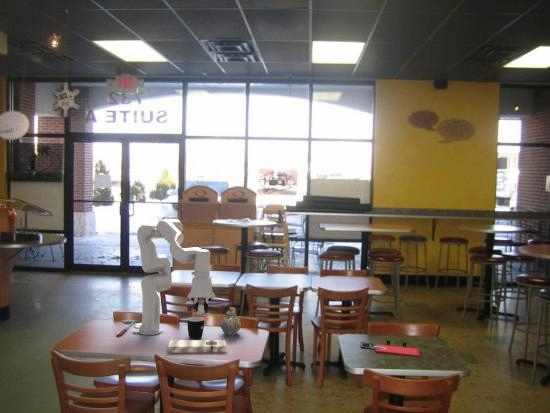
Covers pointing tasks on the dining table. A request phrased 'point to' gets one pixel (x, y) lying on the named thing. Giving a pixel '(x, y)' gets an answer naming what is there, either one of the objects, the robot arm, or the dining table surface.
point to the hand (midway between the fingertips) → (201, 310)
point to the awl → (200, 306)
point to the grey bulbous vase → (230, 322)
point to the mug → (195, 327)
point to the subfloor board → (196, 346)
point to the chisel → (128, 326)
